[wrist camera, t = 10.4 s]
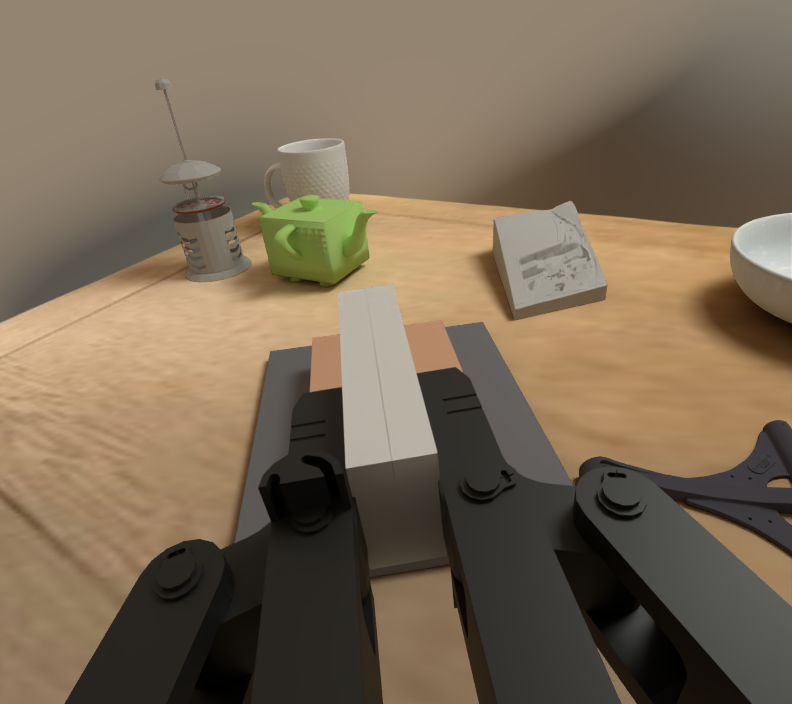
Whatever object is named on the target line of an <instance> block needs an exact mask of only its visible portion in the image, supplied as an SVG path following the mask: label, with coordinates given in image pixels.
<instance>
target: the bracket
mask: <svg viewBox="0 0 792 704" xmlns="http://www.w3.org/2000/svg"><path fill="white" fill-rule="evenodd" d="M763 431H764V432H760V434H759V437H758V441H757V444H756V447H755V449H754V451H753V452H752V453H751V455H750V456H749V457H748V458H747V459H746V460H745V461H743V462H742V463H741V464H739V465H738V466H736V467H734V468H733V469H731V470H729V471H726V472H722V473H718V474H715V475H710V476H705V477H695V478H682V477H676V476H671V475H665V474H661V473H657V472H653V471H650V470H646V469H642V468H638V467H635V466H631V465H627V464H624V463H620V462H617V461H614V460H612V459H609V458H606V457H601V456H599V457H594V458H591V459H588V460H587V461H585V462H584V463H583V464H582V465H581V466H580V468H579V478H581V477H582V476H583V475H585V474H586V473H588V472H589V471H591V470H593V469H598V468H602V467H618V468H625V469H628V470H631V471H634V472H637V473H639V474H642V475H643V476H644V477H646V478H647V479H649V480H650V481H652V482H653V483H655V484H656V485H657V486H658V487H659V488H661V489H662V490H663V491H664V492H665V493H666V494H667V495H668V496H669V497H671V498H672V499H673V500H674V501H681V502H686V504H689V505H691V506H694V507H697V508H700V509H704V510H707V511H709V512H712V513H715V514H718V515H720V516H723V517H725V518H728V519H730V520H732V521H734V522H736V523H739V524H741V525H743V526H745V527H747V528H750V529H752V530H754V531H755V532H757V533H759V534H760V535H762V536H763V537H765V538H766V539H768V540H770V541H771V542H773V543H774V544H776V545H777V546H779V547H780V548H782V549H783V550H785V551H786V552H788V553H789V554H790V555H792V525H791V524H789V523H788V522H787V521H786V520H785V519H784V518H782V516H781V515H780V514H779V513H788V514H792V488H774V487H767V483H768V482H769V481H771V480H773V479H778V478H789V479H790V480H791V482H792V429H791V427H790V426H789V424H788V423H786V422H785V421H781V420H776V421H772V422H769V423H768V424H766V425H765V426H764V428H763ZM778 512H779V513H778Z"/></svg>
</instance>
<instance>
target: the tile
mask: <svg viewBox="0 0 792 704" xmlns="http://www.w3.org/2000/svg"><path fill="white" fill-rule="evenodd" d="M404 329H405V333H406V336H407V340H408V344H409V348H410V351H411V355H412V359H413V363H414V366H415V370H416V373H421V372H427V371H433V370H440V369H446V368H452V367H456V368H458V369H459V370H460V371H461V372H463V371H462V368H461V366H460V363H459V361H458V358H457V356H456V354H455V351H454V349H453V346H452V344H451V341H450V339H449V337H448V334H447V332H446V329H445V327H444V324H443V322H442V320H440V321H433V322H425V323H418V324H411V325H404ZM338 387H342V371H341V348H340V334H338V335H331V336H324V337H317V338H312V358H311V377H310V392H314V391H320V390H326V389H332V388H338Z"/></svg>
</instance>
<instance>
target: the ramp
mask: <svg viewBox="0 0 792 704" xmlns="http://www.w3.org/2000/svg"><path fill="white" fill-rule="evenodd" d="M493 255H494V259H495V262H496V265H497V268H498V271H499V274H500V277H501V281H502V283H503V287H504V290H505V293H506V296H507V299H508V302H509V305H510V308H511V311H512V314H513V317H514V320H518V319H523V318H527V317H531V316H536V315H540V314H545V313H549V312H553V311H558V310H562V309H567V308H571V307H575V306H580V305H584V304H588V303H593V302H597V301H602V300H605V299H606V291H607V283H606V280H605V277H604V275H603V272H602V270H601V267H600V264H599V262H598V260H597V257H596V256H595V254H594V251H593V249H592V247H591V244H590V242H589V239H588V238H587V236H586V234H585V232H584V230H583V227H582V225H581V222H580V219H579V216H578V213H577V210H576V208H575V206H574V204H573V202H572V201H569V202H566V203H564V204H562V205H559V206H557V207H555V208H554V209H551V210H545V211H534V212H526V213H520V214H514V215H509V216H503V217H499V218H495V219H494V227H493Z"/></svg>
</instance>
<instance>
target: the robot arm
mask: <svg viewBox="0 0 792 704" xmlns="http://www.w3.org/2000/svg"><path fill="white" fill-rule="evenodd" d="M338 301H339V325H340V348H341V371H342V387H338V388H332V389H326V390H320V391H314V392H307V393H303V394H302V395H301V397H300V398H299V400H298V402H297V403H296V405H295V406H294V408H293V409H292V420H291V430H290V443H289V451H288V455H286V456H285V457H283V458H282V459H280V460H278V461H277V462H275V463H273V464H272V466H271V467H270V468H269V469H268V470H267V471H266V472H265V473H264V474H263V476H262V479H261V481H260V484H259V486H258V489H259V492H260V494H261V497H262V500H263V502H264V505H265V507H266V510H267V512H268V515H269V518H270V520H271V521H270V522H269V523H268V524H267V525H266V526H264V527H263V528H262V529H261V530H260V531H258V532H256V533H254V534H253V535H251V536H249V537H247V538H245V539H243V540H241V541H238V542H236V543H234V544H232V545H230V546H228V547H225V548H223V549H221V550H220V549H219V548H218V547H217V546H216V545H215V544H214V543H213V542H209V541H205V540H201V539H197V540H190V541H183V542H181V543H179V544H177V545H174V546H172V547H170V548H168V549H166V550H165V551H164V552H162V553H161V554H160V555H158V556H157V557H156V558H154V559H153V560H152V561H151V562H150V564H149V565H148V566H147V567H146V569H145V570H144V571H143V572H142V574H141V575H140V576H139V578H138V580H137V582H136V583H135V585H134V587H133V588H132V590H131V592H130V593H129V595H128V597H127V599H126V600H125V602H124V604H123V605H122V607H121V609H120V610H119V612H118V614H117V615H116V617H115V619H114V621H113V622H112V624H111V626H110V627H109V629H108V631H107V632H106V634H105V636H104V638H103V639H102V641H101V643H100V644H99V646H98V648H97V649H96V651H95V653H94V655H93V656H92V658H91V660H90V661H89V663H88V665H87V666H86V668H85V670H84V671H83V673H82V675H81V677H80V678H79V680H78V682H77V683H76V685H75V687H74V688H73V690H72V692H71V694H70V695H69V697H68V699H67V700H66V702H65V704H383V698H382V687H381V675H380V664H379V652H378V640H377V629H376V617H375V606H374V597H373V593H372V589H371V585H370V577H369V568H370V570H372V569H377V568H383V567H388V566H394V565H400V564H405V563H411V562H417V561H422V560H428V559H434V558H439V557H445V556H447V554H448V558H449V562H450V567H451V577H452V588H453V599H454V608H458V612H459V617H460V621H461V626H462V630H463V634H464V639H465V643H466V648H467V652H468V657H469V661H470V665H471V670H472V674H473V679H474V683H475V688H476V692H477V696H478V701H479V704H621V702H620V699H619V697H618V695H617V693H616V690H615V688H614V686H613V684H612V681H611V679H610V677H609V674H608V672H607V670H606V668H605V665H604V663H603V661H602V659H601V656H600V654H599V652H598V650H597V648H598V649H599V650H600V652H601V653H602V655H603V656H604V657H605V659H606V660H607V662H608V663H609V665H610V666H611V667H612V669H613V670H614V672H615V673H616V675H617V676H618V677H619V679H620V680H621V682H622V683H623V685H624V686H625V687H626V689H627V690H628V692H629V693H630V695H631V696H632V697H633V699H634V700H635V702H636V703H637V704H792V607H791V606H790V605H789V604H788V603H787V602H786V601H785V600H784V599H782V598H781V597H780V596H779V595H778V594H777V593H776V592H775V591H774V590H773V589H771V588H770V587H769V586H768V585H767V584H766V583H765V582H764V581H763V580H761V579H760V578H759V577H758V576H757V575H756V574H755V573H754V572H753V571H751V570H750V569H749V568H748V567H747V566H746V565H745V564H744V563H743V562H741V561H740V560H739V559H738V558H737V557H736V556H735V555H734V554H733V553H731V552H730V551H729V550H728V549H727V548H726V547H725V546H724V545H723V544H722V543H720V542H719V541H718V540H717V539H716V538H715V537H714V536H713V535H712V534H710V533H709V532H708V531H707V530H706V529H705V528H704V527H703V526H702V525H700V524H699V523H698V522H697V521H696V520H695V519H694V518H693V517H692V516H690V515H689V514H688V513H687V512H686V511H685V510H684V509H683V508H682V507H680V506H679V505H678V504H677V503H676V502H675V501H674V500H673V499H672V498H671V497H669V496H668V495H667V494H666V493H665V492H664V491H663V490H662V489H661V488H659V487H658V486H657V485H656V484H655V483H653V482H652V481H650V480H649V479H647V478H646V477H644V476H643V475H642V474H639V473H637V472H634V471H631V470H628V469H625V468H618V467H602V468H598V469H593V470H591V471H589V472H588V473H586V474H585V475H583V476H582V477H581V478H580V480H579V482H578V484H577V486H570V485H559V484H549V483H543V482H538V481H534V480H532V479H529V478H527V477H524V476H523V475H521V474H519V473H518V472H517V471H516V469H515V468H513V467H512V466H510V465H509V464H507V462H506V460H505V459H504V457H503V455H502V453H501V451H500V448H499V446H498V443H497V441H496V439H495V436H494V434H493V432H492V429H491V427H490V424H489V422H488V420H487V417H486V415H485V413H484V410H483V409H482V405H481V403H480V401H479V398H478V397H477V394H476V391H475V389H474V387H473V384H472V382H471V379H470V378H469V377H468V376H466V375H465V374H464V373H463V372H461V371H460V370H459V369H458V368H456V367H452V368H446V369H440V370H433V371H427V372H421V373H416V370H415V366H414V363H413V359H412V355H411V351H410V348H409V344H408V340H407V336H406V333H405V329H404V325H403V321H402V318H401V314H400V310H399V306H398V303H397V299H396V295H395V291H394V288H393V284H390V285H383V286H377V287H371V288H364V289H358V290H351V291H345V292H338ZM596 646H597V647H596Z"/></svg>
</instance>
